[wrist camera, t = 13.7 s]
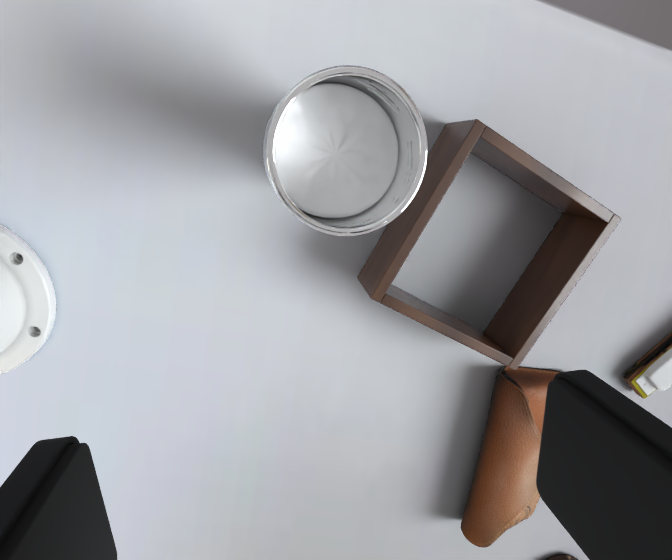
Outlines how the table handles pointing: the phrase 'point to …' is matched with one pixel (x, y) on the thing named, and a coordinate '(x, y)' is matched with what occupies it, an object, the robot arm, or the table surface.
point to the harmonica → (652, 370)
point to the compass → (563, 557)
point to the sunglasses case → (508, 456)
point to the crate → (540, 276)
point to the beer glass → (346, 150)
